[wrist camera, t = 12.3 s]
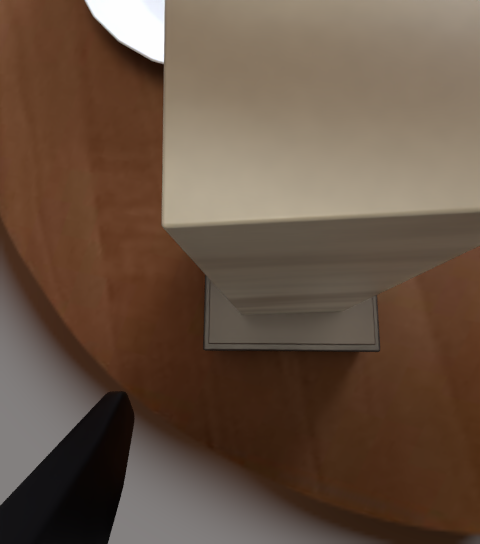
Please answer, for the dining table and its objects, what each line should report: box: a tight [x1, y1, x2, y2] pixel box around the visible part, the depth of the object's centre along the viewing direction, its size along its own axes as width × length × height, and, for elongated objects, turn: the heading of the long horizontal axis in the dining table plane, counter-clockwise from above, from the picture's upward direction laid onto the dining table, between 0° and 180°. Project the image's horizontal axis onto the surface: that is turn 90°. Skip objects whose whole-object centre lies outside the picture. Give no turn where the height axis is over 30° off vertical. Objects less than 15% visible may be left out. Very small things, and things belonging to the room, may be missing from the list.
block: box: [162, 0, 480, 315], centre depth 11 cm, size 5×5×13 cm
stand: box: [203, 275, 380, 352], centre depth 20 cm, size 8×8×4 cm
